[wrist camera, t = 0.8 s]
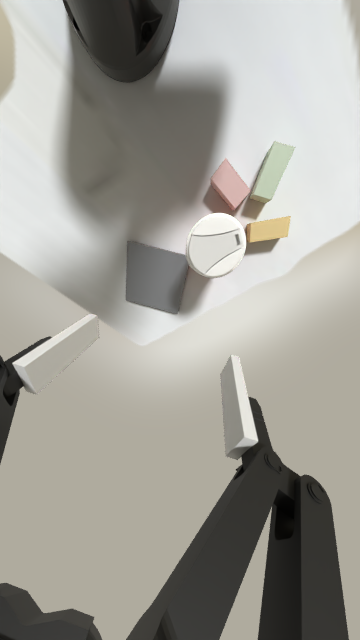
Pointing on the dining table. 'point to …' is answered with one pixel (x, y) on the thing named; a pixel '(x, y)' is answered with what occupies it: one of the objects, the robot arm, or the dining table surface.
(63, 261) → the dining table surface
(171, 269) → the slate mat
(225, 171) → the rose brick
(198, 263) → the paper cup
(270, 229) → the ochre brick
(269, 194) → the sage brick
